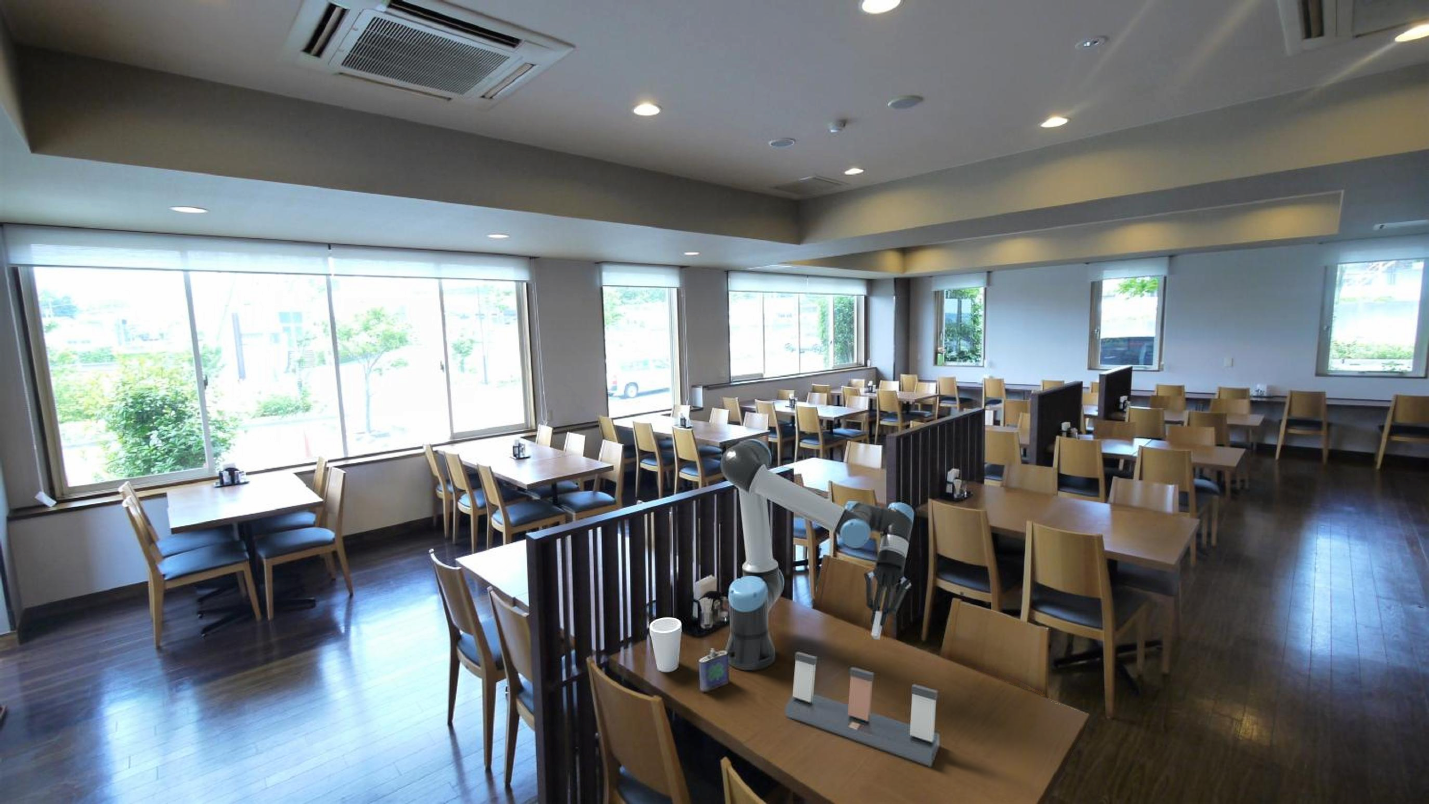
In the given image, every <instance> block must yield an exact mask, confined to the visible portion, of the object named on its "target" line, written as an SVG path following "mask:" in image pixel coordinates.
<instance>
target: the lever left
mask: <svg viewBox="0 0 1429 804" xmlns="http://www.w3.org/2000/svg"><path fill="white" fill-rule="evenodd" d="M794 660H795V665H794V675H793V687H792V688H793V689H792V697H796V698H799V699H802V700H805V701H808V702H812V701H813V694H814V689H815V681H816V680H815V677H816V665H817V664H818V656H814V655H811V654H807V653H804V652H801V651H797V652H795V653H794Z"/></svg>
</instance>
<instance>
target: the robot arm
mask: <svg viewBox="0 0 1429 804" xmlns="http://www.w3.org/2000/svg"><path fill="white" fill-rule="evenodd" d="M771 464H772V453H771V450H770V448H769V447H768V446H767V444H765V443H764V442H763V441H761V440H759V439H756V438H750V439H745V440H742V441H740V442H739V443H737V444H735V445H733V446H731V447H729V448H728V449H726V451H724V453H723V455H722V457H721V460H720V469H721V474H723V476H724V479H726V480H727V481H728V482H729V483H730V484H732V485H734V486H735V487H736V488H737V489H738V494H739V503H740V514H741V522H742V524H741V525H742V531H743V532H742V533H743V540H744V542H743V543H744V550H745V562H744V563H743V564H742V576H741V578H736V579H735V580H733V581H732V582H731V584H730V585H729V588H728V598H727V600H728V607H729V608H728V609H729V626H730V627H729V629H730V631H729V637H728V640H727V644H726V647H725V651H727V652H728V662H729V664H728V665H730V666H731V667H733V668H736V669H738V670H743V671H759V670H763V669H765V668H767V667H769V666H771V665H772V664H773V663H774V662H775V659H776V649H775V646H774V644H773V640H772V638H771V636H770V632H769V612H770V610H771V609H772V607H774V605H775V603H776V602H777V601H778V599H779V598H780V597H781V595H782V594H783V591H784V586H785V578H784V575H783V572H782V571H781V569H779V563H778V561H777V560H776V559H775V558H774V556H773V548H772V538H771V537H772V536H771V528H770V527H771V526H770V519H769V510H768V508H769V507H768V501H767V500H769V501H771V502H774V503H775V504H777V505H779V506H781V507H783V508H785V509H786V510H789V511H791V512H793V513H794V514H796V515H799V516H800V517H802V518H805V519H806V520H808V521H810V522H812V523H814V524H817V525H819V527H823V528H824V529H826V530H828V531H830V532H832V533H833V534H836V535H837V536H840V539H841V541H842V542H843V543H844V544H845V545H846V546H847V547H849V548H853V549H856V548H857V549H858V548H861V547H863V546H864V545H865V544H866V543H868V541H869V540H870V538H871V535H872V532H873V533H876V534H882V536H881V540H880V545H879V549H878V550H879V552H878V554H877V558H876V562H875V565H874V566H875V567H874V568H873V569H872V571H871V572H869V573H868V572H864V573H863V576H864V580H865V586H866V587H865V593H866V606H867V608H868V610H869V611H871V618H870V624H871V625H872V630H871V634H870V635H871V636H872V638H873V639H874V640H878V641H880V639H881V633H882V628H886V626H887V622H888V618H889V616H891V615H893V616H894V615H896V614H897V612H898V610H899V608H900V605H901V604H902V601H903V599H904V597H905V595H906V593H907V591H908V590H909V589H910V588H911V587H912V583H911V581H910V580H909V579H908V578H905V575H904V571H905V567H906V565H905V564H906V561H907V560H906V558H907V555H908V550H909V544H910V540H911V536H912V535H911V533H912V531H913V530H912V529H913V525H914V516H915V511H914V509H913V508H912V507H911V506H910V505H908V504H907V503H904V502H892V503H889V505H888V507H881V506H876V505H873V504H868V503H864V502H860V501H854V500H849V501H847V502H846V504H845V506H844V507H843V506H841V505H839V504H837V503H835V502H833V501H831V500H829V499H827V498H826V497H823V496H821V495H819V494H817V493H815V492H813V491H811V490H809V489H807V488H804V487H803V486H801V485H799V484H797V483H794V482H792V481H791V480H789V479H787V478H786V477H785V478H784V477H783V476H781V475H779V474H777V473H774V472H773V471H771V470H769V467H770V466H771ZM874 579H875V580H876V582H877V584H876V591H875V595H874V587H873V585H874V584H873V581H874ZM899 584H900V585H899ZM898 585H899V587H898V590H897V592H896V594H895V596H894V598H893V595H894V592H895V587H897V586H898ZM884 592H885V595H884ZM883 596H884V600H883ZM882 601H883V604H882ZM881 606H882V608H881ZM880 610H881V611H880Z"/></svg>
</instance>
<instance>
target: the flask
mask: <svg viewBox="0 0 1429 804" xmlns="http://www.w3.org/2000/svg"><path fill="white" fill-rule="evenodd" d="M708 651H710V653H709V654H708V655H706V656H704V657H702V658H699V660H698V665H699V666H698V667H699V668H698V669H699V671H698V672H699V690H700V692H702V693H704V692H705V693H707V692H710V691H712V690H715V689H717V688H718V687H721V686H725V685H728V684H729V682H730V673H729V671H730V670H729V669H730V668H729V667H730V666H729V665H730V664H729V662H728V652H727V651H726V650H719V651H716V650H715V649H714V647H713V648H710V649H709V650H708Z"/></svg>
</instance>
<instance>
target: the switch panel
mask: <svg viewBox="0 0 1429 804" xmlns="http://www.w3.org/2000/svg"><path fill="white" fill-rule="evenodd" d="M784 706H785V707H784V708H785V717H786V718H789V719H792V720H795V721H798V722H801V723H804V724H807V725H809V726H813V727H815V728H818V729H821V730H824V731H827V732H829V733H833V734H835V735H838V736H840V737H845V738H846V739H850V740H852V741H855V742H858V743H860V744H864V745H867V746H870V747H872V748H875V749H878V750H881V751H884V752H886V753H890V754H892V755H895V756H898V757H900V758H904V759H907V760H910V761H912V762H916V763H919V764H921V765H923V766H927V767H930V768H932V766H933V762H934V761H935V758H936V755H937V753H938V751H939V748H940V733H938V732H935V731H934V740H933V742H931V741H928V740H924V739H921V738H918V737H915V736H912V735H910V723H905V722H903V721H899V720H897V719H893V718H890V717H887V716H884V715H881V714H879V713H875V712H871V711H870V719H869V721H866V720H863V719H860V718H857V717H854V716H851V715H848V706H849V704H846V703H842V702H840V701H838V700H837V701H836V700H833V699H830V698H827V697H825V696H821V695H818V694H814V693H813V701H812V702H808V701H805V700H802V699H799V698H796V697H793V696H791V698H790V700H788V702H787V703H786V704H785V705H784Z"/></svg>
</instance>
